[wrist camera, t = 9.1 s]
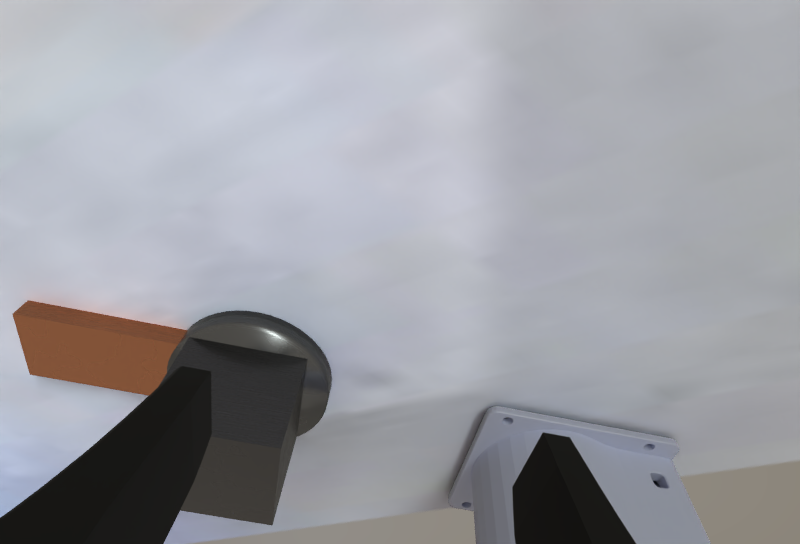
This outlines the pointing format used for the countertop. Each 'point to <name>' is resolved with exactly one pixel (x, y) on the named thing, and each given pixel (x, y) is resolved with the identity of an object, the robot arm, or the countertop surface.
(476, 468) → the robot arm
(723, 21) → the countertop surface
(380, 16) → the countertop surface
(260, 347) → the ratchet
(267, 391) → the dark grey cube
